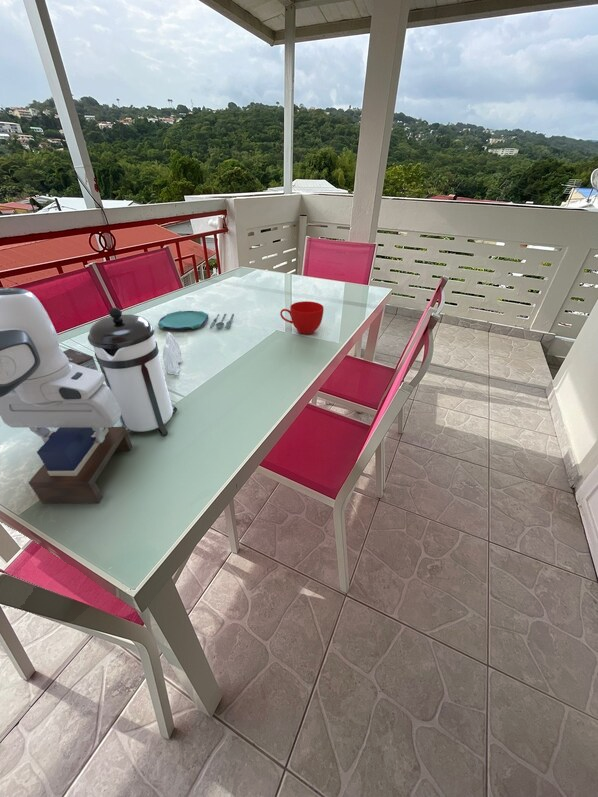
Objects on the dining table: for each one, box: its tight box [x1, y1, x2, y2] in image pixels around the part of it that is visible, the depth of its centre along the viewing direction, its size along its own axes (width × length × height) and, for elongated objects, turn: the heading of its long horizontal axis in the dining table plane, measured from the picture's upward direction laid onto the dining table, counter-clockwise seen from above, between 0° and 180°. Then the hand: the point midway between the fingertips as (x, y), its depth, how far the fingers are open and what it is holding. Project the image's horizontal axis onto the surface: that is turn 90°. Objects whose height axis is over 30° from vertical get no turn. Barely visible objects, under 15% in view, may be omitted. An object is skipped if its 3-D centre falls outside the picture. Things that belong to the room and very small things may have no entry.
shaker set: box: [162, 332, 183, 377], centre depth 105 cm, size 12×4×11 cm, turn 8°
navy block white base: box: [36, 428, 109, 476], centre depth 65 cm, size 13×5×6 cm, turn 0°
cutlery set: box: [157, 310, 235, 330], centre depth 138 cm, size 20×30×2 cm, turn 89°
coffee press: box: [87, 307, 178, 437], centre depth 77 cm, size 17×16×30 cm
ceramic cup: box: [279, 300, 325, 335], centre depth 130 cm, size 13×17×10 cm
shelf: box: [28, 426, 134, 504], centre depth 69 cm, size 11×16×6 cm
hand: (75, 440), depth 65 cm, fingers open, 8 cm apart
